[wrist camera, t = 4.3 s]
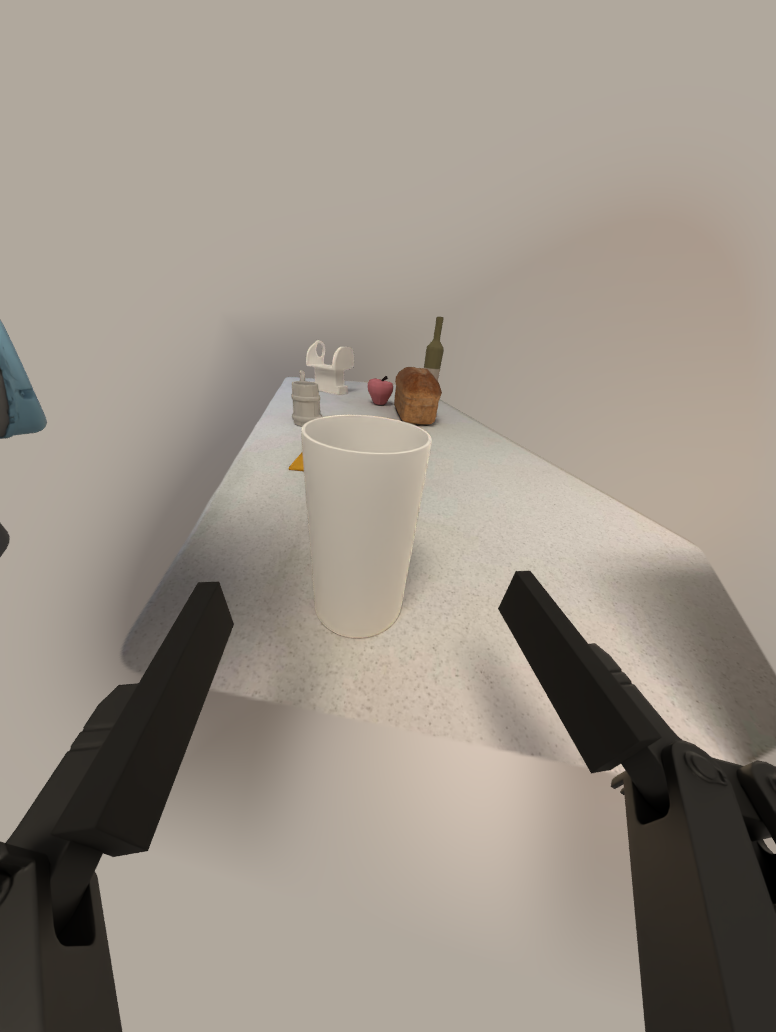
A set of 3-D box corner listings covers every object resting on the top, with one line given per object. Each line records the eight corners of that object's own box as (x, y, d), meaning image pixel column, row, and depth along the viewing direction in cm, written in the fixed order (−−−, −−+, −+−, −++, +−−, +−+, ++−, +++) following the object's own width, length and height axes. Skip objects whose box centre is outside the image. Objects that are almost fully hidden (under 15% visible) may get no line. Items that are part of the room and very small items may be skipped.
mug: (294, 427, 69) (289, 374, 63) (290, 415, 78) (285, 368, 72) (324, 427, 72) (322, 376, 66) (317, 415, 81) (315, 370, 75)
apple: (385, 402, 108) (387, 374, 103) (395, 407, 102) (398, 377, 97) (363, 402, 104) (364, 372, 99) (372, 407, 98) (374, 376, 93)
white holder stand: (307, 390, 115) (304, 339, 105) (327, 387, 124) (325, 340, 115) (335, 395, 110) (334, 343, 100) (353, 392, 120) (354, 344, 110)
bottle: (416, 397, 124) (428, 316, 108) (431, 398, 126) (444, 318, 110) (422, 400, 118) (435, 315, 102) (437, 401, 120) (452, 318, 104)
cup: (317, 570, 29) (307, 411, 20) (393, 566, 30) (415, 417, 21) (311, 642, 22) (292, 451, 13) (410, 634, 23) (450, 456, 15)
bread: (421, 408, 105) (428, 366, 97) (438, 428, 82) (449, 375, 74) (391, 405, 104) (395, 362, 96) (399, 425, 80) (405, 370, 72)
